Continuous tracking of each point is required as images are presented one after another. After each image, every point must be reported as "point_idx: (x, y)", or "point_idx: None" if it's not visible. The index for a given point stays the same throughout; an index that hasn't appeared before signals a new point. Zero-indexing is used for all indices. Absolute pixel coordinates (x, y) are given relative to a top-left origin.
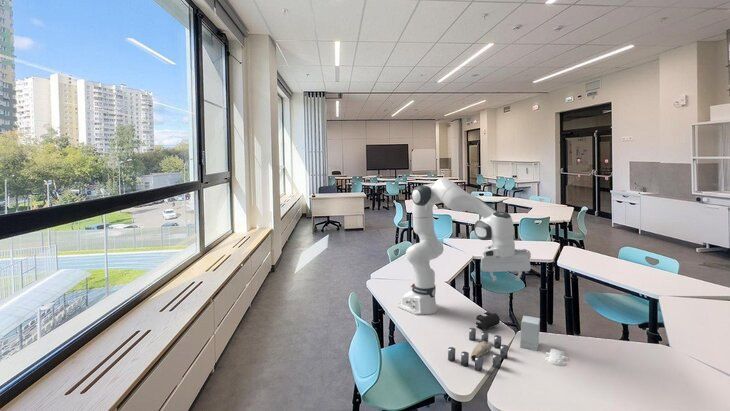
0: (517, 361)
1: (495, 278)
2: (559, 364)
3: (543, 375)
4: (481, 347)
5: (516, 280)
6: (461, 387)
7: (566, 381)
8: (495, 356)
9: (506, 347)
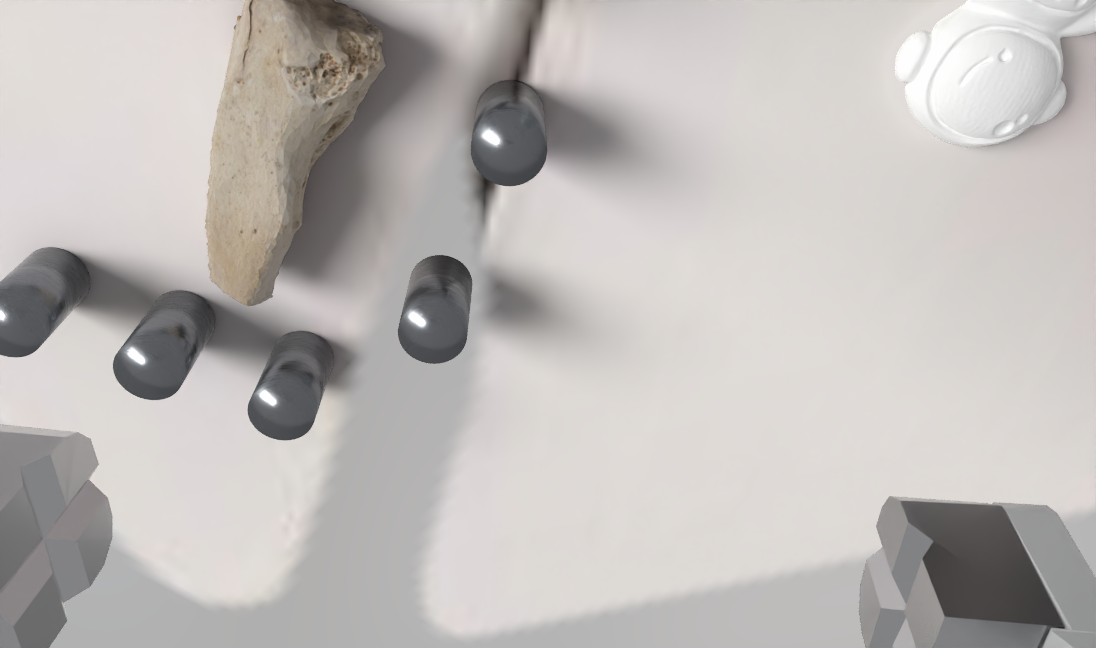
0: (628, 160)
1: (27, 637)
2: (993, 144)
3: (798, 313)
4: (280, 173)
5: (877, 628)
6: (222, 563)
7: (945, 346)
8: (421, 356)
9: (530, 170)
